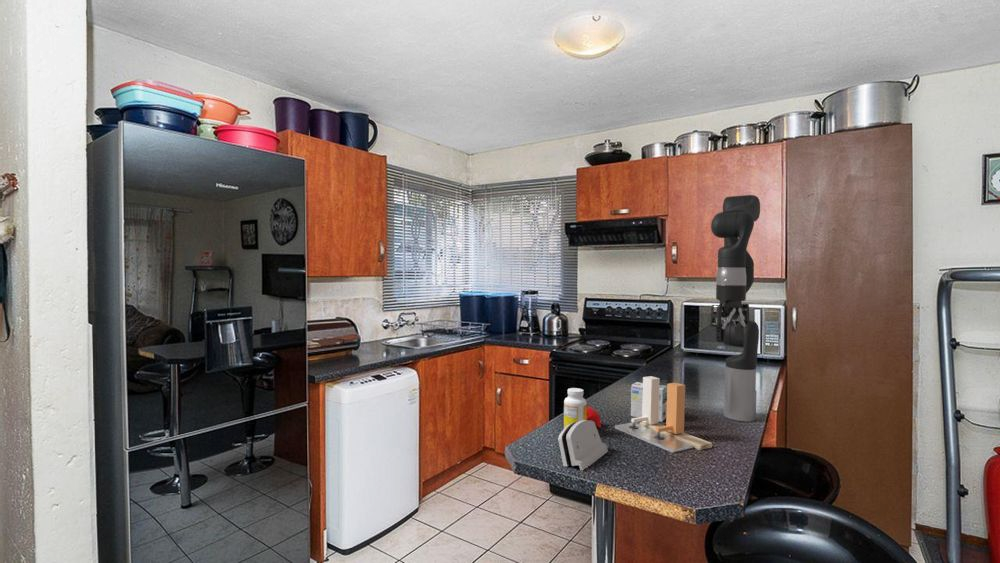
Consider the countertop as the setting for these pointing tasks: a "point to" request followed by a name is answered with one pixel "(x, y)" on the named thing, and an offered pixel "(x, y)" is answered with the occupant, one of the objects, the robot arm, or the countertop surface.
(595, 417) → the cap
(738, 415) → the robot arm
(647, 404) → the fixed leg
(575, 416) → the supplement bottle
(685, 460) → the countertop surface
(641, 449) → the countertop surface
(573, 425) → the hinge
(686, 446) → the bolt plate
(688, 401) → the countertop surface
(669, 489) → the countertop surface
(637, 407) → the light bulb box
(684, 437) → the rail
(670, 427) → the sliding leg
